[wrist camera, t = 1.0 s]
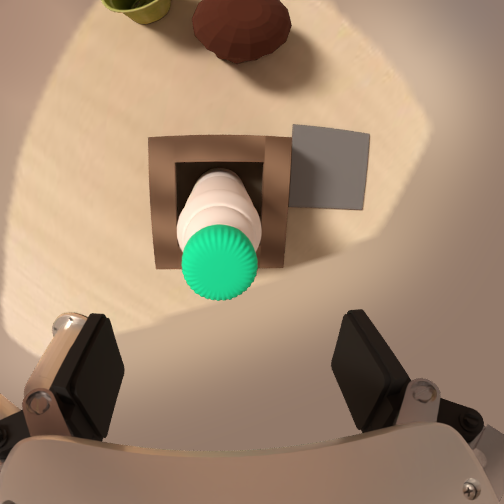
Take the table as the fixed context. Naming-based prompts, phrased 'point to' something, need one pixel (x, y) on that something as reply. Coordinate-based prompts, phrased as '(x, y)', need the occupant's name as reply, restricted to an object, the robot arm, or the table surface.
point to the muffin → (241, 27)
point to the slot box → (211, 150)
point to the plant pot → (140, 9)
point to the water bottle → (219, 236)
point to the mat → (327, 168)
